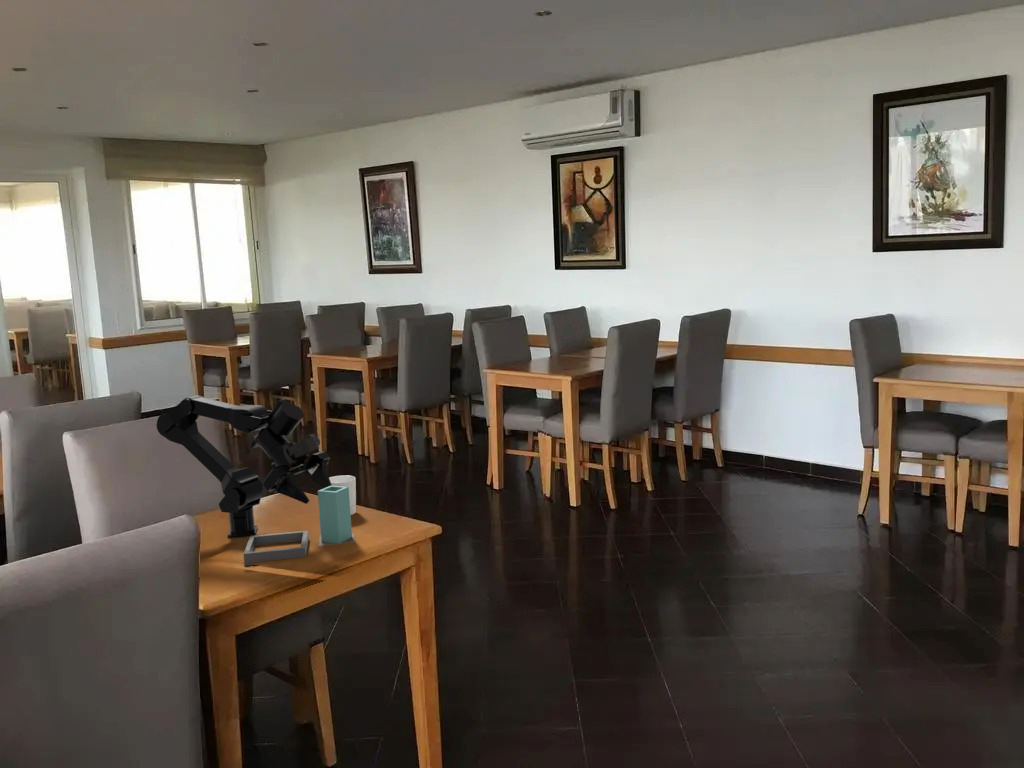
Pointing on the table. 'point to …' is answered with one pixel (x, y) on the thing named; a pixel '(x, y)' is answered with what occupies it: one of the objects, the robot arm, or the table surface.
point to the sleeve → (334, 514)
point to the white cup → (347, 482)
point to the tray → (277, 553)
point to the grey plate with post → (348, 541)
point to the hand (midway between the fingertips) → (320, 497)
